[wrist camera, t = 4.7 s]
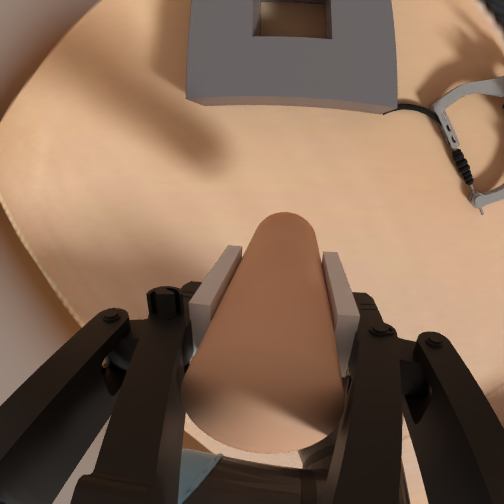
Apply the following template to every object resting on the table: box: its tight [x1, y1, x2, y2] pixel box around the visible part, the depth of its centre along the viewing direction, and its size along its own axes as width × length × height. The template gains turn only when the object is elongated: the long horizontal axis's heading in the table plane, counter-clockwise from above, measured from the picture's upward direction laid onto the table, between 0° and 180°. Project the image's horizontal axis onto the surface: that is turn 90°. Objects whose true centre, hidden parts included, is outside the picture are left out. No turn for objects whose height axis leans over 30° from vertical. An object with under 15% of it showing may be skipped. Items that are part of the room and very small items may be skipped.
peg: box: [181, 212, 345, 454], centre depth 14 cm, size 4×4×15 cm
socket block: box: [186, 0, 398, 114], centre depth 20 cm, size 16×16×5 cm
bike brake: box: [383, 76, 504, 215], centre depth 20 cm, size 14×7×20 cm
